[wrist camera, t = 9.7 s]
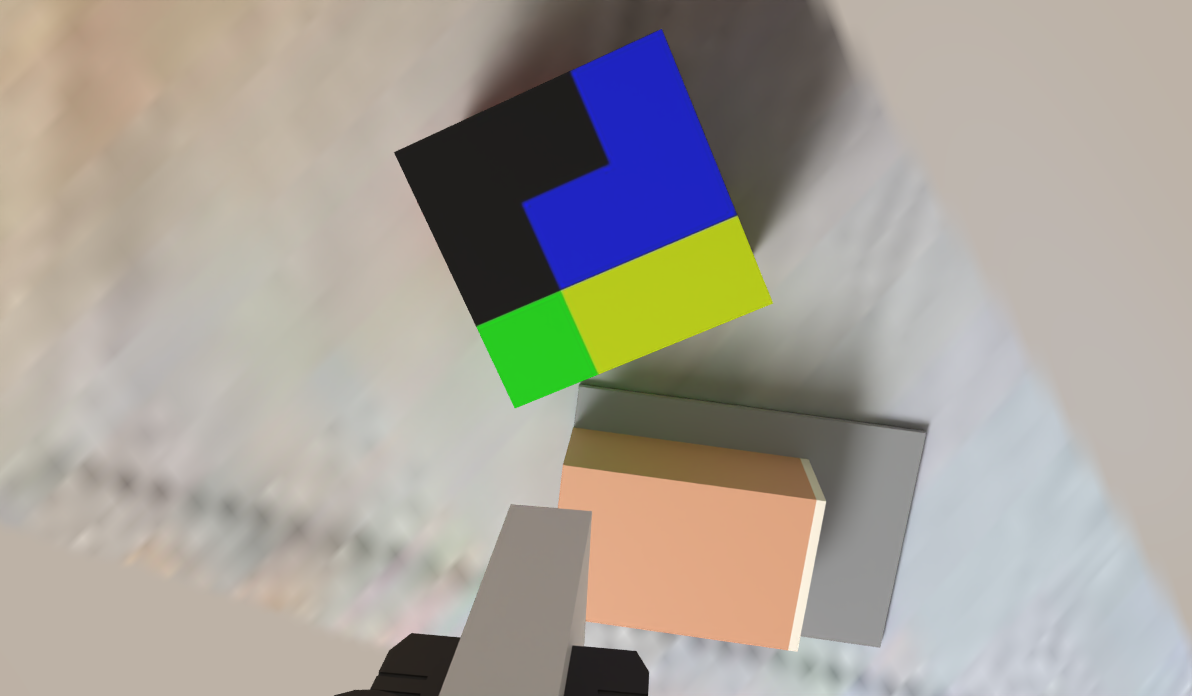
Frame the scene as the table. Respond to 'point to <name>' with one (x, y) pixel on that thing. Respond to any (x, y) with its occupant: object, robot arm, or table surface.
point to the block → (695, 536)
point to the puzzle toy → (586, 221)
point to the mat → (843, 470)
